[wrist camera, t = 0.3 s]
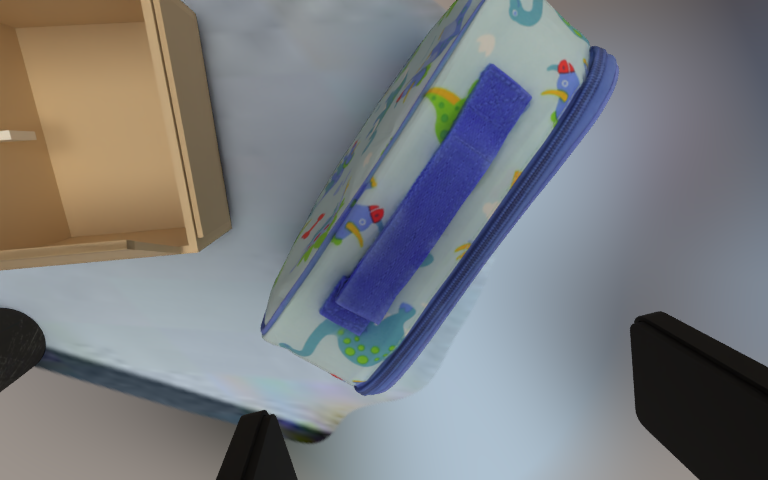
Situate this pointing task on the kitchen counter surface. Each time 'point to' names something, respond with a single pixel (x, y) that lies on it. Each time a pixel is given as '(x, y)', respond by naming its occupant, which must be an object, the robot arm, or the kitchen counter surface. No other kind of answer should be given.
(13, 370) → the travel mug
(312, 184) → the kitchen counter surface
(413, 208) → the lunch box
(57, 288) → the kitchen counter surface
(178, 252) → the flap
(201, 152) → the carton
